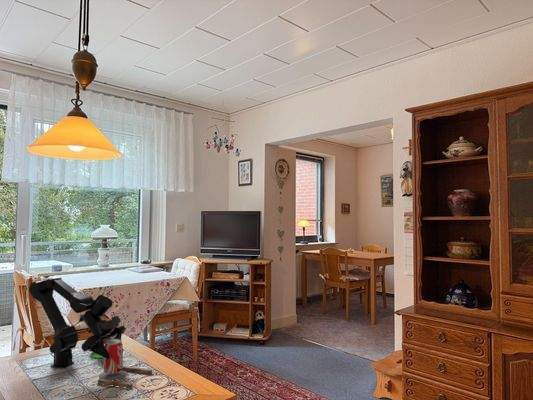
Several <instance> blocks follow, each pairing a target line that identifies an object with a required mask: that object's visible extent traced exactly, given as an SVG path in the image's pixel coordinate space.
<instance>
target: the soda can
mask: <svg viewBox="0 0 533 400" xmlns="http://www.w3.org/2000/svg"><path fill="white" fill-rule="evenodd" d="M121 341H122V339H121V340H120V339H110V340H108V341H106V344H104V347H105V349H106V350H107V352H108V354H109V356H110V358H109V359H106V358H103V372H105V373H107V374H109V375H113V374H117V373H119V372H120V371H121V370H122V366H124V365H123V364H124V360H123V359H124V347H123V346H124V345H123V343H121Z"/></svg>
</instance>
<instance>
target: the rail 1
mask: <svg viewBox="0 0 533 400" xmlns="http://www.w3.org/2000/svg"><path fill="white" fill-rule="evenodd" d="M99 384H104V385H103V386H106V385H113V386H119V387H118V388H120V387H126V388H125V389H127V388H131V389H133V388H132V387H134V384H133V382H126V381H118V380H114V381H112V380H105V379H99V378H98V380H97V385H99ZM113 386H112V387H113Z"/></svg>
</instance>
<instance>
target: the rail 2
mask: <svg viewBox="0 0 533 400" xmlns="http://www.w3.org/2000/svg"><path fill="white" fill-rule="evenodd" d="M122 370H124V371H126V372H127V371H129V372H130V373H135V372H136V373H135V374H143V373H145V374H144V375H152V374H153V369H152V368H151V369H150V368H144V367H143V368H142V367H135V366H127V365H123V366H122Z"/></svg>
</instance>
